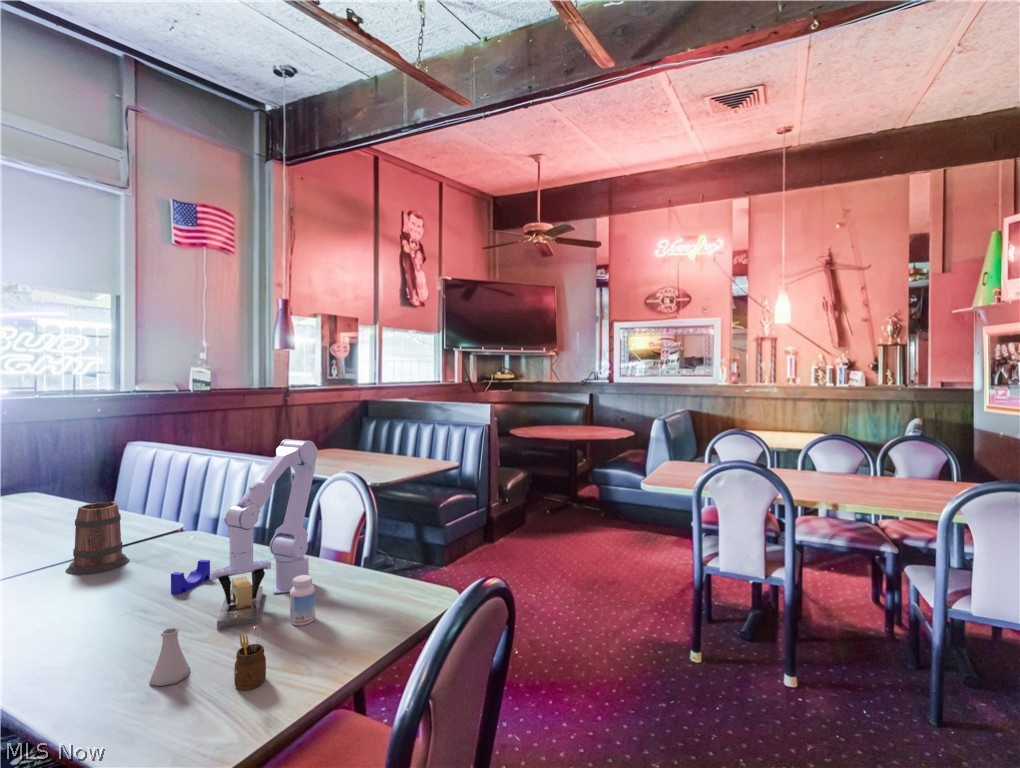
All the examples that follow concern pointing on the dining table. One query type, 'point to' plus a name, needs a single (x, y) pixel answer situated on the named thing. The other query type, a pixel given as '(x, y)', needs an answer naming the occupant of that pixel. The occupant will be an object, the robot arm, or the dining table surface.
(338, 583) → the dining table surface
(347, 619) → the dining table surface
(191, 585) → the cable clip
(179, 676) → the flask
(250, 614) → the gray rectangular plate
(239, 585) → the wooden toy block
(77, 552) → the tankard
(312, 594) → the pill bottle
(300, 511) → the robot arm
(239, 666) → the utensil holder
